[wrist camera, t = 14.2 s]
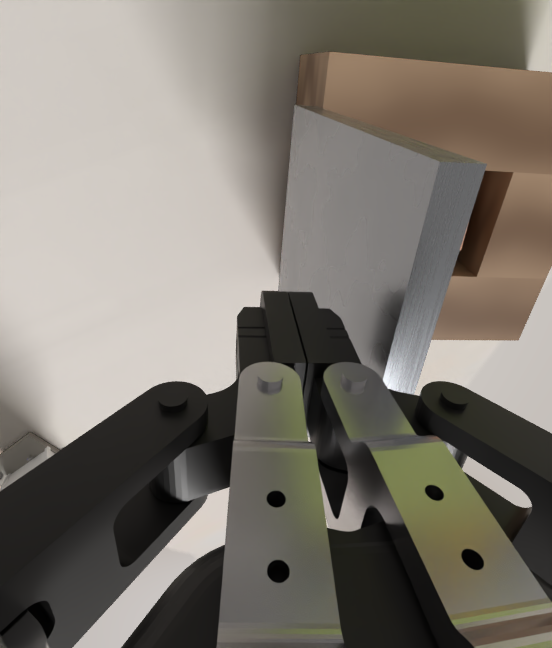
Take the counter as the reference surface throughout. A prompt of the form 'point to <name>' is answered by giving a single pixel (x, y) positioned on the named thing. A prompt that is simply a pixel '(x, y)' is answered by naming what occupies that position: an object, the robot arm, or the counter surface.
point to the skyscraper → (23, 458)
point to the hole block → (473, 142)
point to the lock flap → (375, 233)
